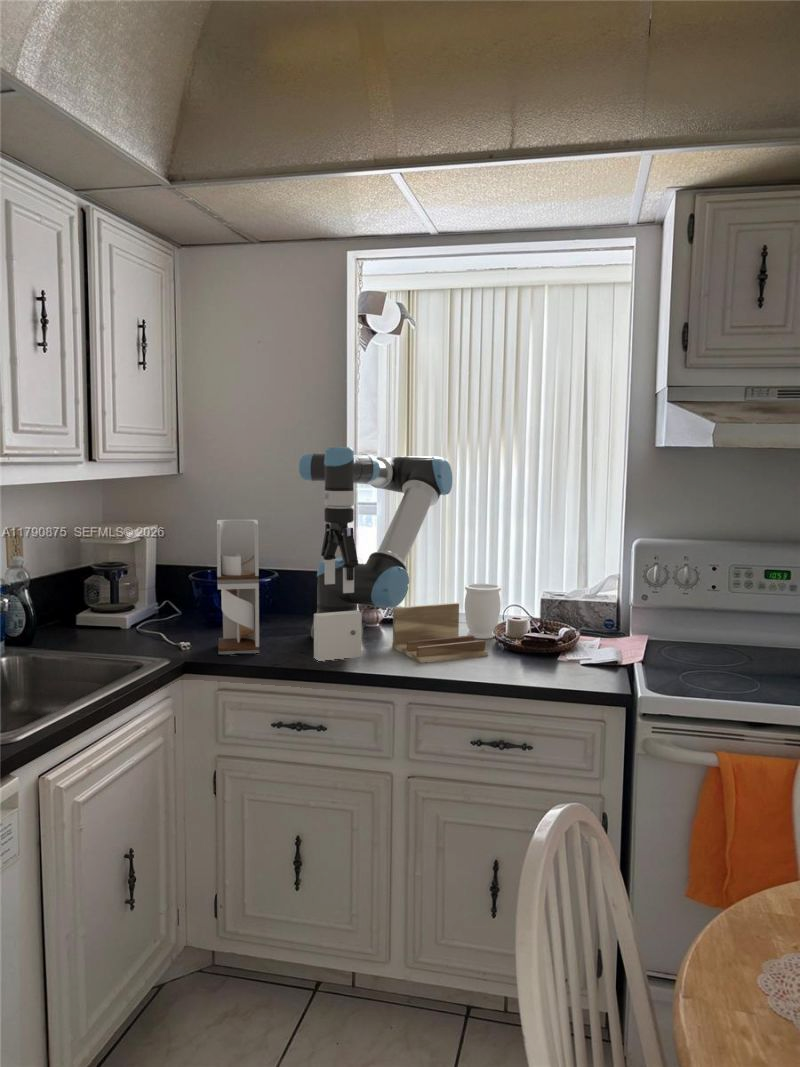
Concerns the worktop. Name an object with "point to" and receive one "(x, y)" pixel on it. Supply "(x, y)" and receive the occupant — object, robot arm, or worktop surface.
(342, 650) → the door panel
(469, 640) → the track base
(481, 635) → the jar
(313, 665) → the worktop surface
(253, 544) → the spiral ramp tower
